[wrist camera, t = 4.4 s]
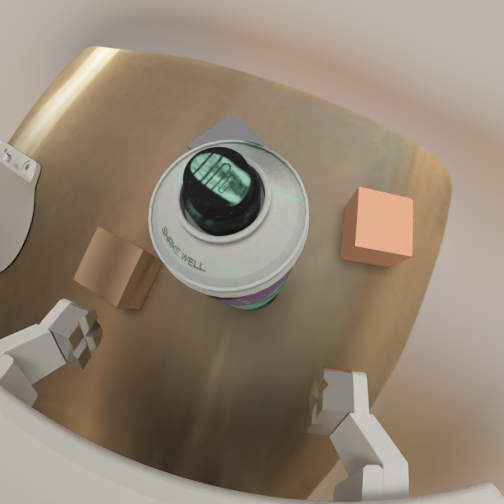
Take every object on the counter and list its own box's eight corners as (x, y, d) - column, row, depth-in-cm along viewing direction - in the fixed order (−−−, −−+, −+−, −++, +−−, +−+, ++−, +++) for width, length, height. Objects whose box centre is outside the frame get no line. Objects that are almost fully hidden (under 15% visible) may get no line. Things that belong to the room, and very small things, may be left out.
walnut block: (101, 286, 27) (73, 279, 22) (122, 241, 28) (98, 226, 23) (140, 309, 27) (116, 307, 22) (163, 262, 27) (143, 250, 23)
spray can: (222, 246, 27) (142, 95, 8) (283, 252, 27) (324, 98, 8) (215, 307, 26) (94, 272, 7) (278, 313, 26) (323, 296, 6)
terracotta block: (339, 259, 27) (354, 245, 22) (344, 208, 28) (359, 186, 23) (388, 267, 27) (411, 256, 22) (391, 217, 28) (412, 199, 23)
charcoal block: (198, 171, 29) (187, 145, 25) (237, 142, 30) (232, 113, 25) (229, 205, 28) (222, 183, 24) (269, 174, 29) (270, 147, 24)
